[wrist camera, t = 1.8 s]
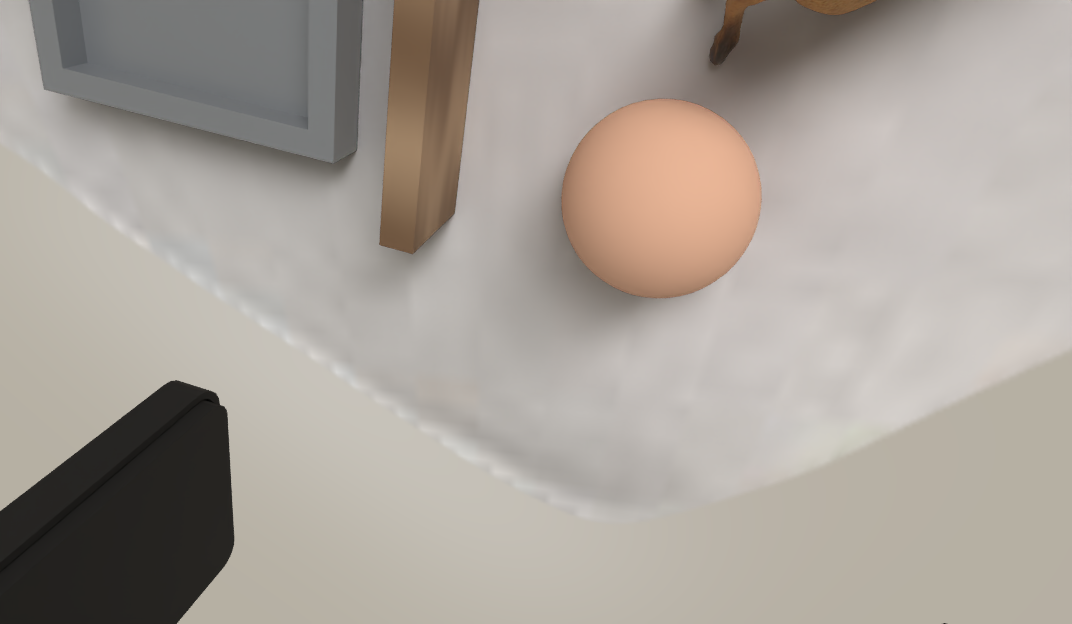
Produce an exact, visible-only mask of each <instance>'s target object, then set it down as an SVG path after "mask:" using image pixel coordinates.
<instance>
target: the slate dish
mask: <svg viewBox="0 0 1072 624" xmlns="http://www.w3.org/2000/svg"><path fill="white" fill-rule="evenodd" d="M29 4H30V10H31V16H32V22H33V28H34V34H35V40H36V45H37V51H38V57H39V63H40V69H41V75H42V81H43V86H44V90H48V91H52V92H56V93H60V94H64V95H68V96H72V97H76V98H80V99H83V100H87V101H91V102H95V103H99V104H103V105H107V106H111V107H115V108H118V109H122V110H126V111H130V112H134V113H138V114H142V115H146V116H150V117H154V118H157V119H161V120H165V121H169V122H173V123H177V124H181V125H185V126H189V127H193V128H196V129H200V130H204V131H208V132H212V133H216V134H220V135H224V136H228V137H232V138H235V139H239V140H243V141H247V142H251V143H255V144H259V145H263V146H267V147H271V148H274V149H278V150H282V151H286V152H290V153H294V154H298V155H302V156H306V157H309V158H313V159H317V160H321V161H325V162H329V163H333V164H334V163H335V162H337V161H339V160H341V159H342V158H344V157H346V156H348V155H349V154H351V153H353V152H355V151H356V150H357V130H358V106H359V82H360V58H361V33H362V9H363V0H29Z"/></svg>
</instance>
